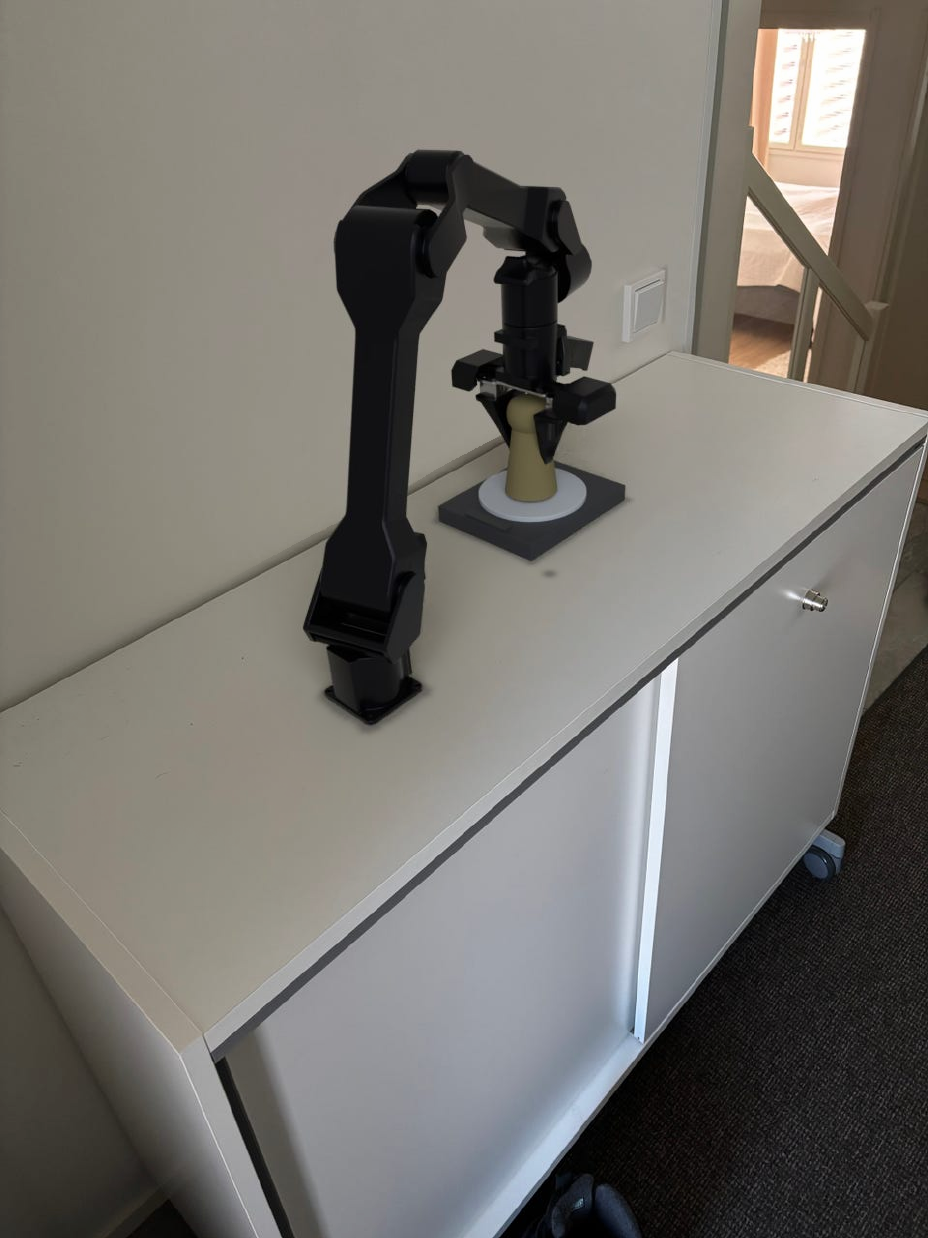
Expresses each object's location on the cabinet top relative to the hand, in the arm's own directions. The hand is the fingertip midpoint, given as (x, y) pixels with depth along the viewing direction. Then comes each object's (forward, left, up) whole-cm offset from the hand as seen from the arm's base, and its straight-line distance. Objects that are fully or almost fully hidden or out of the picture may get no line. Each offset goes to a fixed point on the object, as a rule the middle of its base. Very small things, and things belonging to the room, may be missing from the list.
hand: (531, 458), depth 103 cm
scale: (0, 0, -7) cm, 7 cm away
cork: (0, 0, -4) cm, 4 cm away
